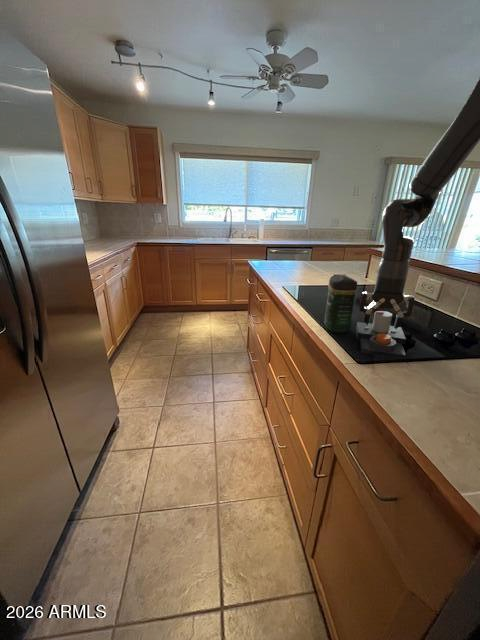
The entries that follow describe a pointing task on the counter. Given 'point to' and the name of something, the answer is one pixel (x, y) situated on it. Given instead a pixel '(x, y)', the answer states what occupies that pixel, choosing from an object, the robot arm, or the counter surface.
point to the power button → (383, 338)
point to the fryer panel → (367, 332)
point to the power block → (381, 347)
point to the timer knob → (381, 321)
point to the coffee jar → (340, 303)
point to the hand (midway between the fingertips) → (380, 325)
